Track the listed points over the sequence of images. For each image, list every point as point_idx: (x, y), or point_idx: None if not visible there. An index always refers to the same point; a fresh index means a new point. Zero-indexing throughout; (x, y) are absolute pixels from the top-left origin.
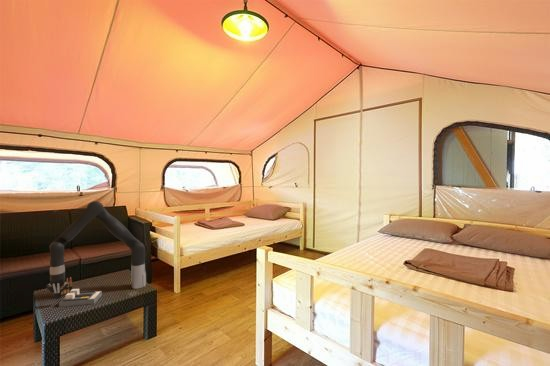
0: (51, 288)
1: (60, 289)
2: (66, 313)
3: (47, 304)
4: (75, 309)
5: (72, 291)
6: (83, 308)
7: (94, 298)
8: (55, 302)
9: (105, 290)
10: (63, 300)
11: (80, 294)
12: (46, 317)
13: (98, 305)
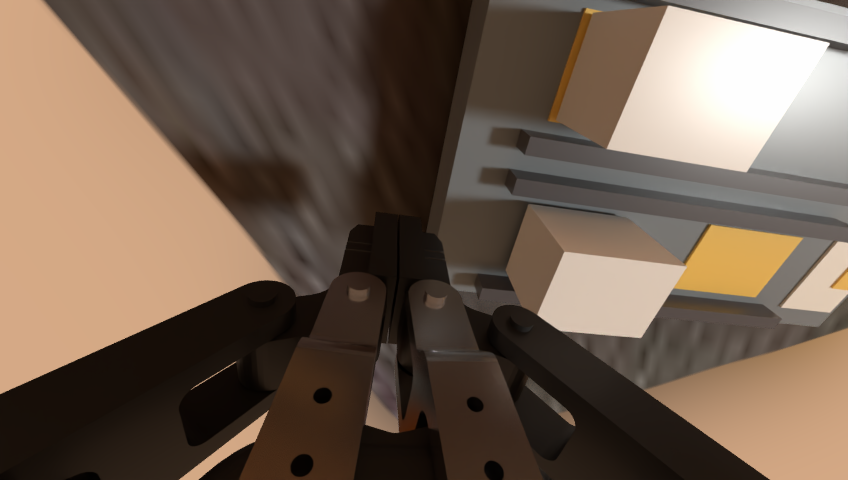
0: (183, 446)
1: (442, 339)
2: (527, 384)
3: (223, 118)
4: (593, 345)
5: (644, 152)
6: (658, 346)
7: (829, 311)
8: (315, 83)
9: None
10: (487, 298)
11: (726, 178)
12: (386, 400)
13: (782, 332)
